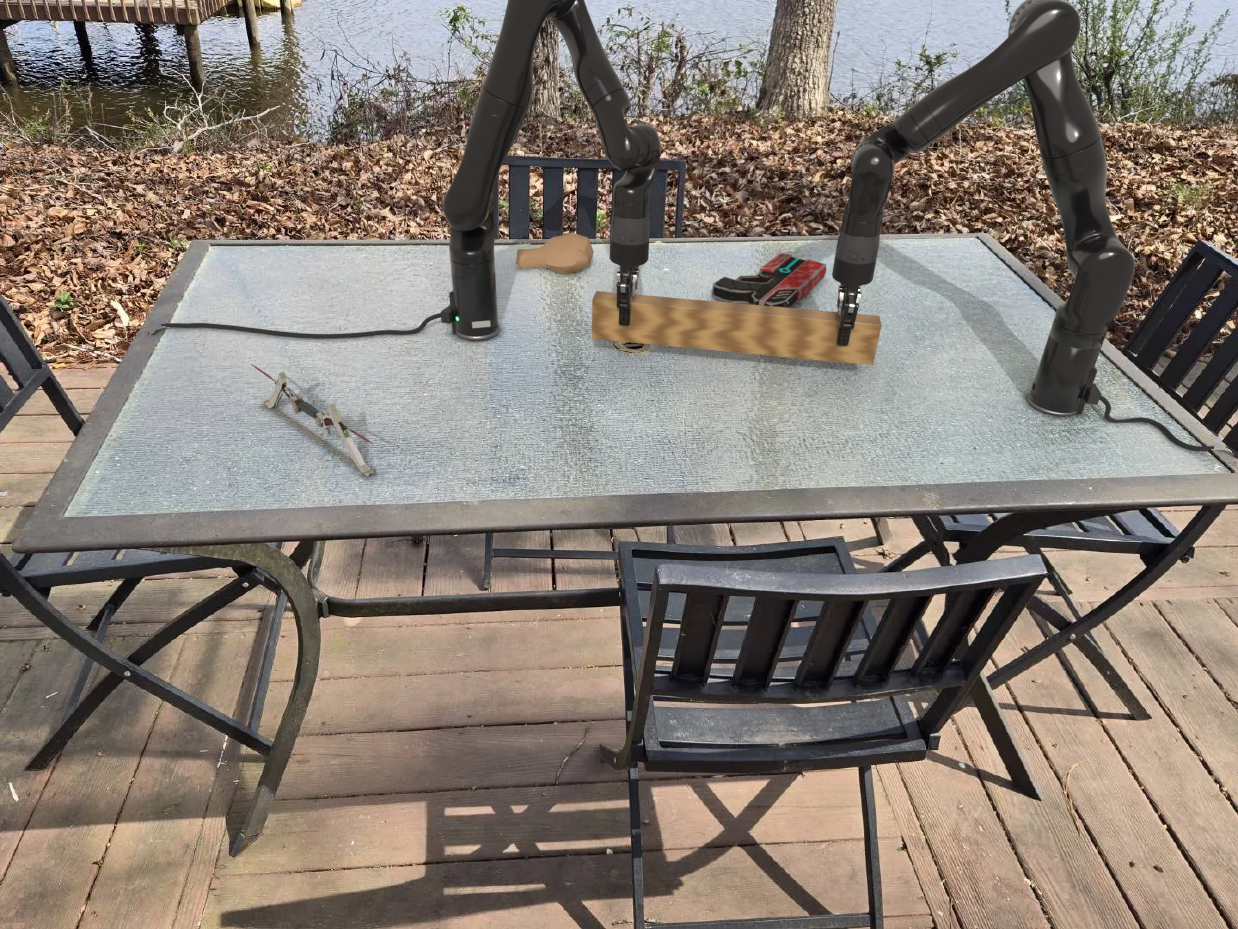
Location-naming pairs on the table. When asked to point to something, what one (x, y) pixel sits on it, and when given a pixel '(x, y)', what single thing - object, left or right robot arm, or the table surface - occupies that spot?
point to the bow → (318, 419)
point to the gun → (773, 283)
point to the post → (735, 328)
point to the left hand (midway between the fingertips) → (626, 319)
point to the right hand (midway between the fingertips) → (841, 338)
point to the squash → (559, 254)
